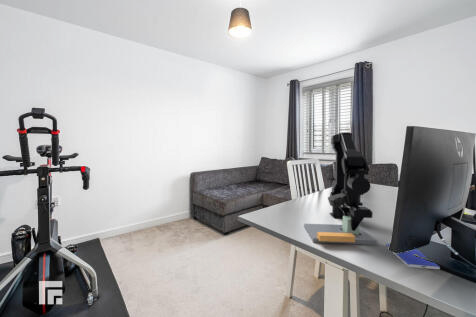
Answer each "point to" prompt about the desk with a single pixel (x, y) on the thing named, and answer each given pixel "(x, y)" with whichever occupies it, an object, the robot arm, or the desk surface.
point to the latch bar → (335, 237)
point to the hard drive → (415, 260)
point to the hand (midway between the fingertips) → (350, 227)
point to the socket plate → (359, 239)
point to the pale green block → (349, 226)
